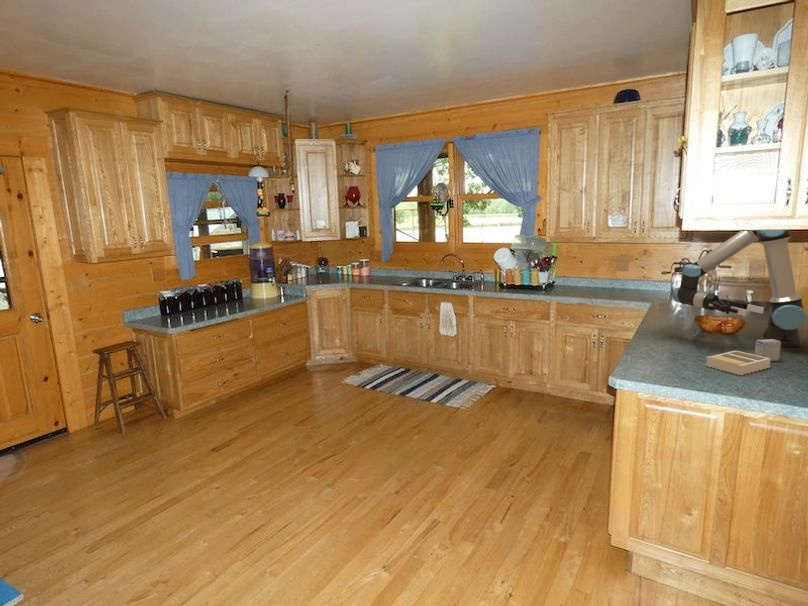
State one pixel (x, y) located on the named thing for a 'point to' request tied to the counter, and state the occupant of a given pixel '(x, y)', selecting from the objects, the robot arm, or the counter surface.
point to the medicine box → (768, 349)
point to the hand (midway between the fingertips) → (755, 311)
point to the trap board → (738, 362)
